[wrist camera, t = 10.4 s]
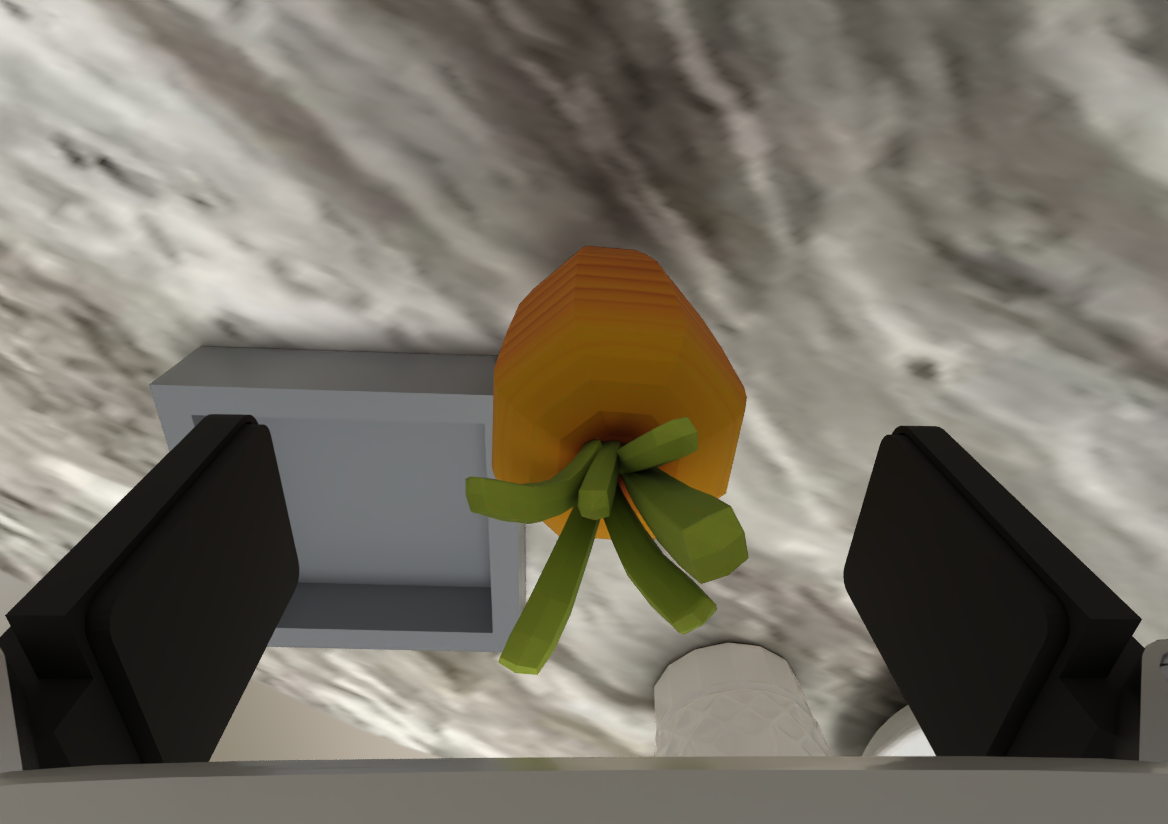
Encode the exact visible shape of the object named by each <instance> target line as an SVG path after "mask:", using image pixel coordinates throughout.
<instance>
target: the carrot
mask: <svg viewBox="0 0 1168 824" xmlns="http://www.w3.org/2000/svg"><path fill="white" fill-rule="evenodd" d="M746 399H747V397H746V393H745V389H744V386H743V384H742V383H741V381H740V379H739V377H738V376H737V374H736V372H735V370H734V369H733V367H732V365H731V363H730V362H729V360H728V358H727V356H726V355H725V353H724V351H723V349H722V348H721V346H720V345H719V343H718V342H717V340H716V339H715V337H714V336H713V334H712V333H711V331H710V330H709V328H708V327H707V325H706V324H705V322H704V321H703V319H702V318H701V317H700V315H699V314H698V313H697V311H696V310H695V309H694V308H693V306H692V305H691V304H690V303H689V301H688V300H687V299H686V298H685V296H684V295H683V294H682V293H681V291H680V290H679V289H678V288H677V286H676V285H675V284H674V283H673V281H672V280H671V279H670V278H669V276H668V275H667V274H666V272H665V271H664V270H663V269H662V267H661V266H660V265H659V264H658V262H657V261H655V260H654V259H652V258H651V257H649V256H648V255H646V254H644V253H641V252H639V251H636V250H629V249H618V248H606V247H595V246H584V247H583V248H582V249H580V250H579V251H578V252H577V253H576V254H574V255H573V256H572V257H571V258H570V259H568V260H567V261H566V262H565V263H564V264H563V265H561V266H560V267H559V268H558V269H557V270H555V271H554V272H553V273H552V274H551V275H549V276H548V277H547V278H546V279H545V280H544V281H542V282H541V283H540V284H539V285H538V286H536V287H535V288H534V289H533V290H532V291H531V292H530V293H529V294H528V295H527V296H526V298H525V299H524V300H523V301H522V302H521V303H520V304H519V306H518V309H517V311H516V313H515V315H514V317H513V320H512V322H511V324H510V326H509V329H508V331H507V333H506V336H505V339H504V342H503V345H502V347H501V350H500V353H499V356H498V359H497V362H496V364H495V367H494V387H493V428H492V470H493V473H494V476H495V478H496V479H490V478H482V477H473V476H470V477H468V478H466V498H467V501H468V504H469V507H470V510H471V512H473V513H477V514H481V515H484V516H487V517H491V518H494V519H497V520H500V521H506V522H516V523H526V524H530V523H536V522H541V521H543V522H544V523H545V524H546V525H547V526H548V527H550V528H551V529H552V530H553V531H554V532H555V533H556V534H557V535H558V536H559V538H558V540H557V542H556V545H555V547H554V549H553V551H552V553H551V555H550V557H549V559H548V561H547V563H546V565H545V567H544V569H543V571H542V573H541V575H540V577H539V579H538V582H537V584H536V586H535V588H534V590H533V592H532V594H531V596H530V598H529V600H528V602H527V604H526V606H525V608H524V609H523V611H522V613H521V615H520V617H519V619H518V621H517V622H516V624H515V626H514V628H513V630H512V632H511V634H510V635H509V638H508V640H507V643H506V645H505V648H504V650H503V652H502V654H501V656H500V659H499V663H500V664H502V665H503V666H505V667H507V668H508V669H510V670H511V671H513V672H515V673H522V674H535V675H538V673H539V672H540V670H541V669H542V667H543V666H544V664H545V663H546V662H547V660H548V659H549V657H550V656H551V654H552V653H553V651H554V650H555V647H556V645H557V643H558V641H559V639H560V636H561V634H562V632H563V630H564V628H565V625H566V623H567V621H568V619H569V617H570V614H571V611H572V608H573V605H574V602H575V599H576V596H577V593H578V590H579V586H580V583H581V580H582V577H583V574H584V571H585V568H586V565H587V562H588V558H589V555H590V552H591V549H592V546H593V542H594V539H595V538H598V539H611V540H612V542H613V544H614V547H615V549H616V551H617V553H618V556H619V558H620V560H621V562H622V565H623V567H624V569H625V571H626V573H627V576H628V577H629V578H630V579H631V581H632V582H633V583H634V585H635V586H636V587H637V588H638V590H639V591H640V592H641V594H642V595H643V596H644V597H645V599H646V600H647V601H648V602H649V604H650V605H651V606H652V607H653V608H654V609H655V610H656V611H657V612H658V613H659V614H660V615H661V616H662V617H663V618H664V619H665V620H666V621H667V622H669V623H670V624H671V625H672V626H673V627H674V628H675V629H676V630H677V631H678V632H679V633H681V634H686V633H688V632H690V631H692V630H694V629H696V628H698V627H700V626H702V625H704V624H705V622H706V621H707V620H708V619H709V618H710V617H711V616H712V615H713V613H714V612H715V611H716V610H717V607H716V604H715V603H714V602H713V601H712V600H711V599H710V598H709V597H708V596H707V595H706V594H705V593H704V591H703V590H702V589H701V588H700V587H699V586H698V585H697V584H696V583H695V582H694V581H693V580H692V579H691V578H690V577H689V576H687V575H686V574H685V573H684V572H683V571H682V570H681V569H680V568H678V567H677V566H676V565H675V564H674V563H673V562H672V561H671V560H669V559H668V558H667V557H666V556H665V555H664V554H663V553H662V551H661V550H660V549H659V547H658V546H657V544H656V543H655V542H654V539H655V538H656V539H657V540H658V542H659V543H660V544H661V545H662V546H663V547H664V549H665V550H666V551H667V552H668V553H669V554H670V555H671V557H672V558H673V559H674V560H675V561H676V562H677V563H678V565H679V566H681V567H682V568H683V569H684V570H685V571H686V572H688V573H689V574H690V575H691V576H692V577H693V578H695V579H696V580H697V581H698V582H699V583H701V584H702V583H705V582H709V581H712V580H715V579H718V578H721V577H724V576H727V575H729V574H730V573H731V572H733V571H734V570H735V569H736V568H737V567H739V566H740V565H741V564H742V563H743V562H744V561H746V560H747V559H748V552H747V545H746V539H745V533H744V531H743V529H742V527H741V525H740V523H739V521H738V519H737V517H736V515H735V513H734V511H733V509H732V507H731V506H729V505H728V504H726V503H724V502H723V501H721V500H719V499H718V498H719V497H721V496H723V495H724V494H726V490H727V486H728V482H729V477H730V473H731V469H732V464H733V460H734V456H735V451H736V447H737V443H738V438H739V434H740V430H741V425H742V421H743V417H744V412H745V407H746Z"/></svg>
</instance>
